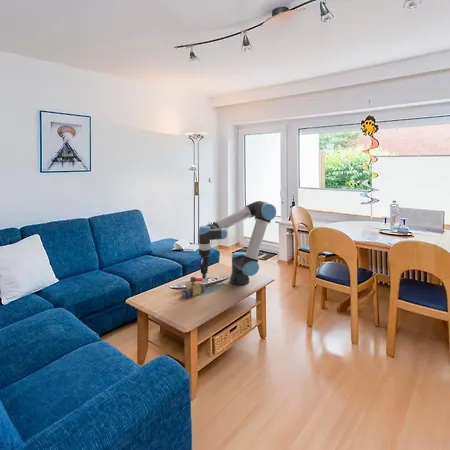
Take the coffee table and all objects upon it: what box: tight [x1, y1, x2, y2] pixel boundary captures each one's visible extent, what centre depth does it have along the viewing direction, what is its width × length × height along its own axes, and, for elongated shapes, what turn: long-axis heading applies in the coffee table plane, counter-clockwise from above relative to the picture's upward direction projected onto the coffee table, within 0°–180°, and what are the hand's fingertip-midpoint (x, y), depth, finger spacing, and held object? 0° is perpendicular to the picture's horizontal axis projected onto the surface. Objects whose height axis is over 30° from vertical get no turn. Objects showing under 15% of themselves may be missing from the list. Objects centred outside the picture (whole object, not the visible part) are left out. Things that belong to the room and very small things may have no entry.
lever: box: [189, 276, 209, 283], centre depth 220 cm, size 12×4×2 cm, turn 81°
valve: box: [181, 281, 206, 299], centre depth 222 cm, size 18×7×10 cm, turn 134°
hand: (204, 282), depth 218 cm, fingers closed
